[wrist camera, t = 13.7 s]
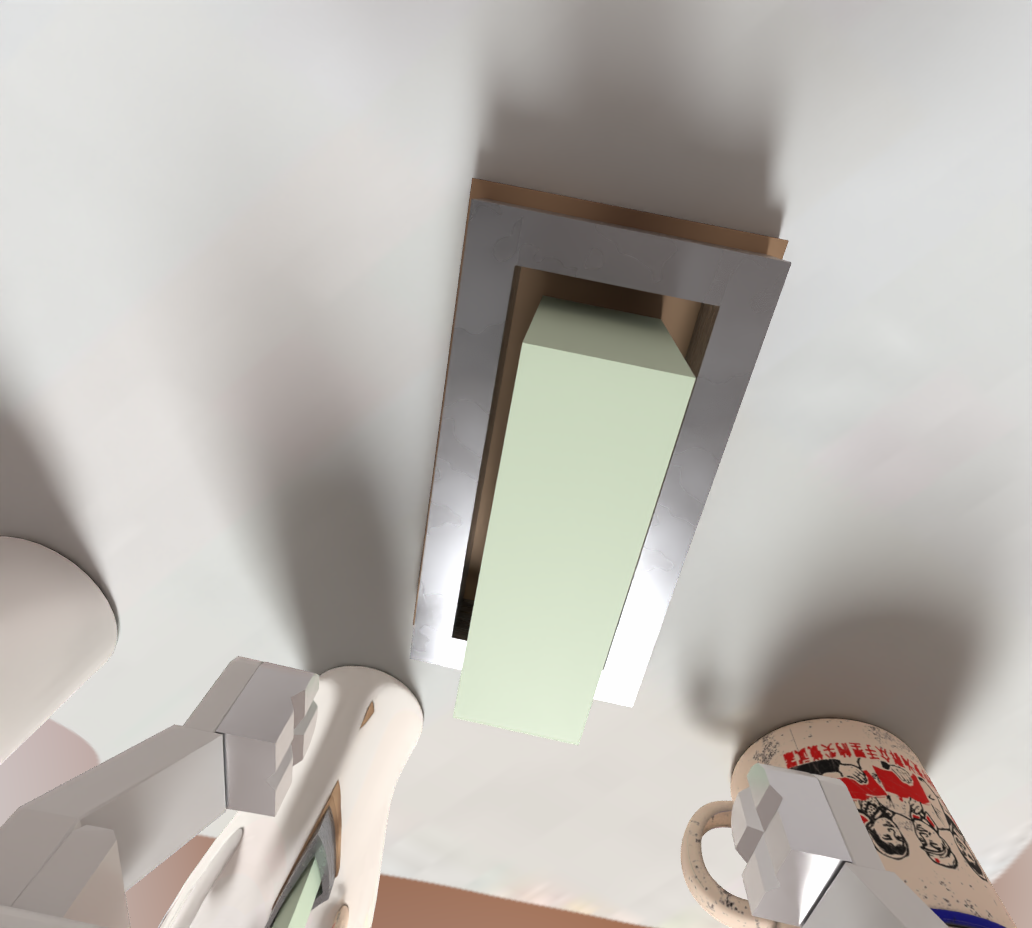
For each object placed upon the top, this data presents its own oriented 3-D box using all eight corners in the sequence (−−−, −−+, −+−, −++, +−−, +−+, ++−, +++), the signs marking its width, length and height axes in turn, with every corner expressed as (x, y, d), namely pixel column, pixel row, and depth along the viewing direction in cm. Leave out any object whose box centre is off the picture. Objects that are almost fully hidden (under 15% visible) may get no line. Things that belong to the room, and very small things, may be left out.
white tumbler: (363, 634, 28) (154, 1044, 15) (461, 725, 30) (356, 1167, 16) (271, 696, 31) (17, 1098, 17) (366, 777, 32) (206, 1202, 19)
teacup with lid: (959, 730, 27) (1202, 1080, 16) (880, 856, 31) (1035, 1207, 20) (690, 681, 27) (756, 990, 17) (646, 812, 31) (677, 1131, 21)
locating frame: (418, 610, 27) (396, 665, 24) (477, 178, 20) (456, 175, 16) (634, 657, 27) (641, 718, 24) (778, 238, 19) (816, 247, 16)
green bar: (542, 295, 20) (522, 342, 14) (661, 319, 20) (695, 378, 14) (486, 584, 25) (452, 717, 19) (580, 605, 25) (578, 745, 19)
